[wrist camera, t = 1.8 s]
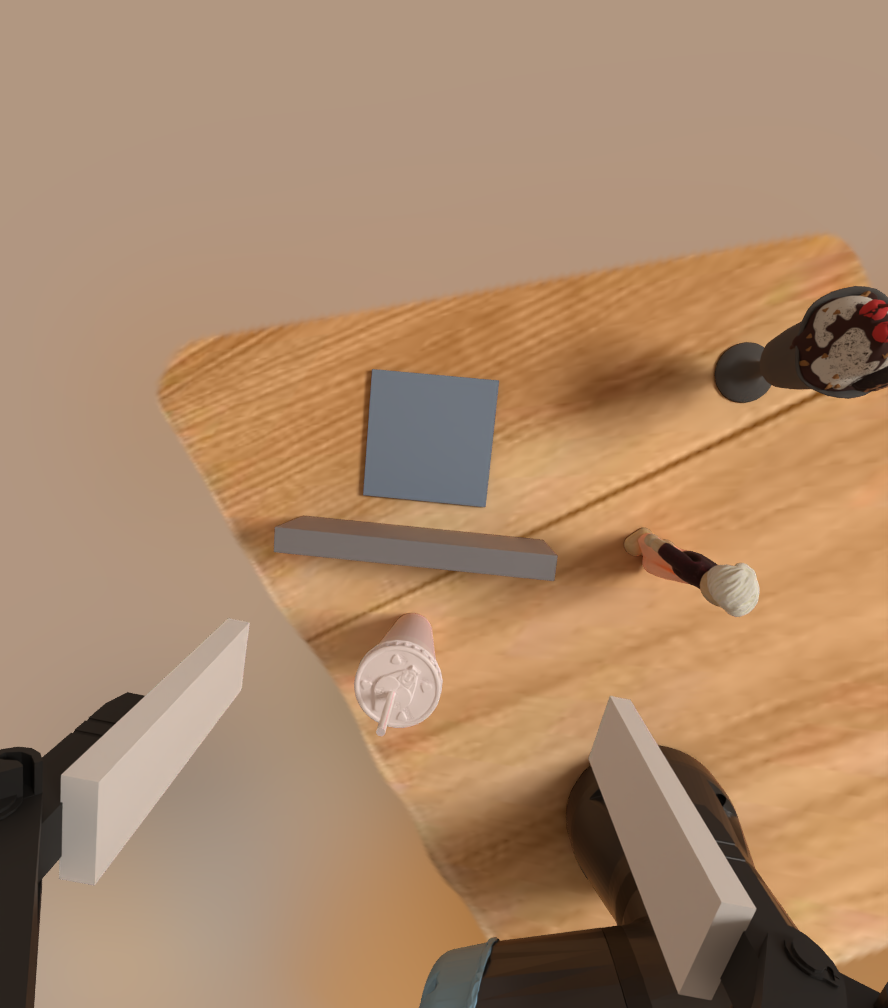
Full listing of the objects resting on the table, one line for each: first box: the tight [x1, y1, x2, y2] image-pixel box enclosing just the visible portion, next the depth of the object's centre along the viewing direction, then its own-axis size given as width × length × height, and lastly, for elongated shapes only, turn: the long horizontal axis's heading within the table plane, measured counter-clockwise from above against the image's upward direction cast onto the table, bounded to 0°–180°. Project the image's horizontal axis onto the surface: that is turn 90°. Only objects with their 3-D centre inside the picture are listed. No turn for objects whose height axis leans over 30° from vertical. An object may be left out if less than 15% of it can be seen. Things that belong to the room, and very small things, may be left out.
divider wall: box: [274, 516, 558, 581], centre depth 36 cm, size 2×22×6 cm, turn 85°
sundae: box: [715, 286, 888, 403], centre depth 29 cm, size 7×7×15 cm
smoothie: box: [354, 613, 442, 736], centre depth 34 cm, size 6×6×14 cm
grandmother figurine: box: [624, 528, 759, 617], centre depth 32 cm, size 8×4×13 cm, turn 70°
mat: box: [363, 369, 499, 507], centre depth 38 cm, size 11×11×1 cm
